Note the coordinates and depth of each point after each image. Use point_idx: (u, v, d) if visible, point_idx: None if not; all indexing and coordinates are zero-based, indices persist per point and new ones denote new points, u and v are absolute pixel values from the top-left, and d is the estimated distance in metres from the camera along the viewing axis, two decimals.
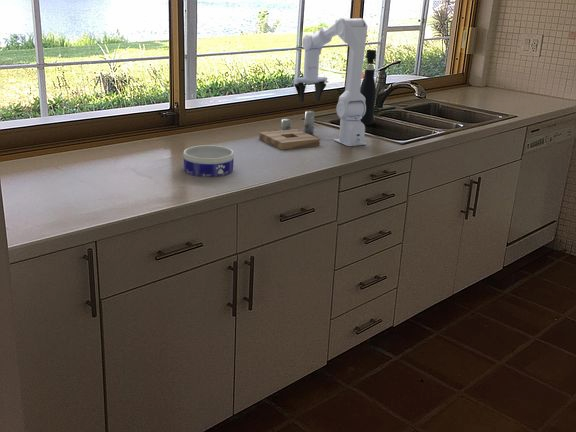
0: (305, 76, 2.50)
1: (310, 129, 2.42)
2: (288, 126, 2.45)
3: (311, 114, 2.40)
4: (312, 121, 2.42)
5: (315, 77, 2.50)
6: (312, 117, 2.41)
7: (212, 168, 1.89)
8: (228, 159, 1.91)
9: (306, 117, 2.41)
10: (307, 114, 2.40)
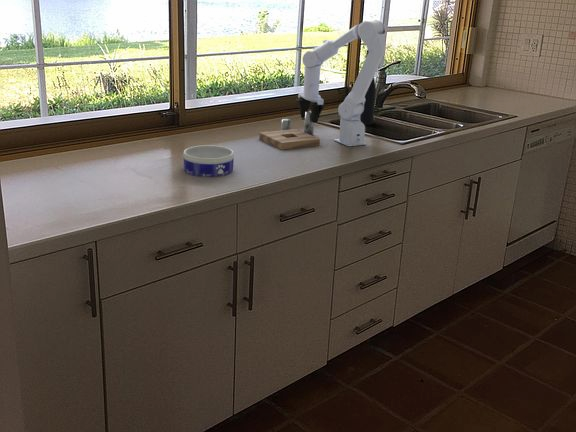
0: None
1: (310, 129, 2.42)
2: (288, 126, 2.45)
3: (311, 114, 2.40)
4: None
5: (305, 94, 2.38)
6: None
7: (212, 168, 1.89)
8: (228, 159, 1.91)
9: (306, 117, 2.41)
10: (307, 114, 2.40)
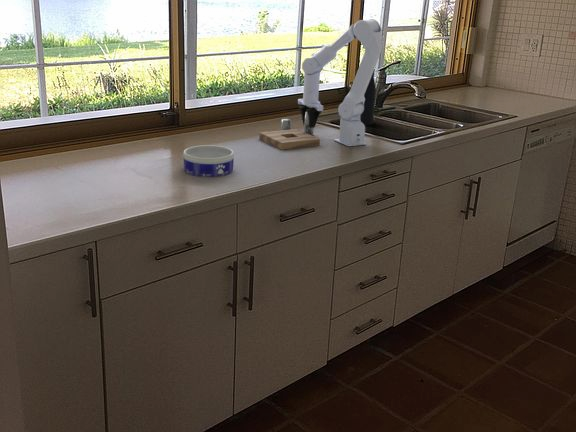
0: None
1: (310, 129, 2.42)
2: (288, 126, 2.45)
3: None
4: None
5: (305, 101, 2.38)
6: None
7: (212, 168, 1.89)
8: (228, 159, 1.91)
9: (306, 117, 2.41)
10: (307, 114, 2.40)
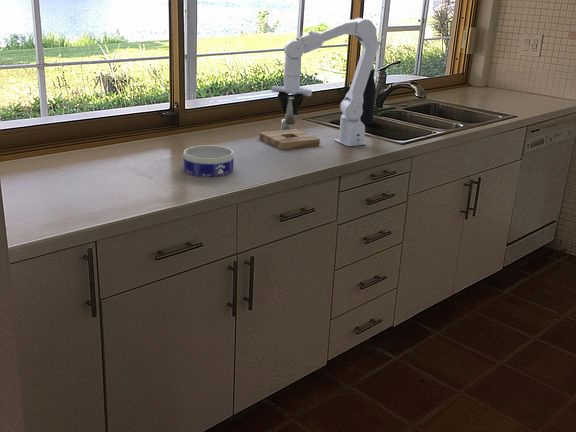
0: None
1: (294, 116, 2.29)
2: (288, 126, 2.45)
3: None
4: None
5: (290, 87, 2.23)
6: None
7: (212, 168, 1.89)
8: (228, 159, 1.91)
9: (290, 104, 2.26)
10: (291, 101, 2.26)
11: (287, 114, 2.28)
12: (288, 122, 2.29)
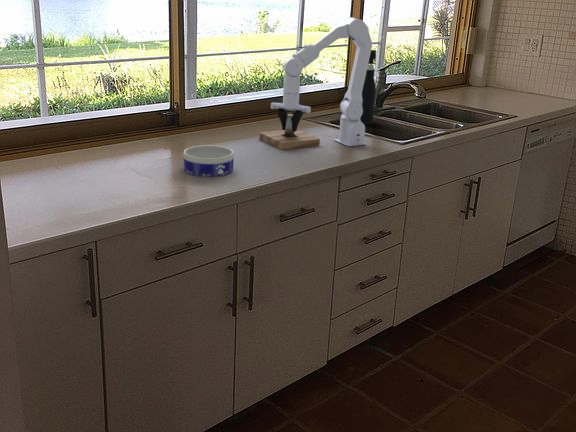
0: None
1: (293, 133, 2.31)
2: None
3: None
4: None
5: (289, 104, 2.25)
6: None
7: (212, 168, 1.89)
8: (228, 159, 1.91)
9: (289, 121, 2.28)
10: (291, 118, 2.28)
11: (286, 130, 2.30)
12: None
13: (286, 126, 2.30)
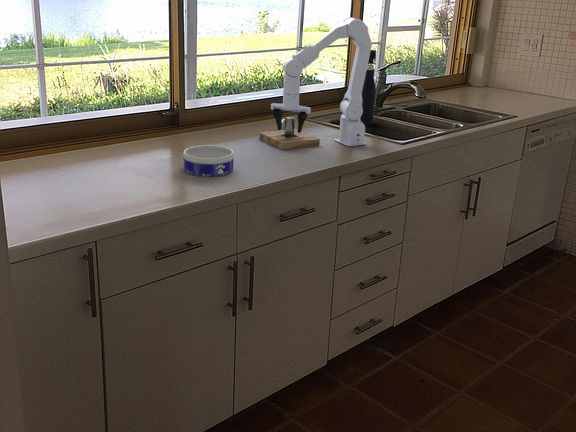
0: None
1: (293, 135, 2.31)
2: None
3: (294, 120, 2.29)
4: (294, 127, 2.31)
5: (289, 105, 2.25)
6: (294, 123, 2.30)
7: (212, 168, 1.89)
8: (228, 159, 1.91)
9: (289, 124, 2.29)
10: (290, 121, 2.28)
11: (286, 133, 2.30)
12: None
13: (286, 129, 2.30)
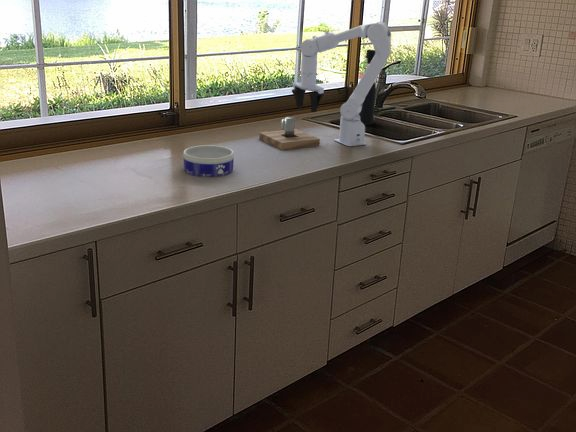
0: None
1: (293, 135, 2.31)
2: None
3: (294, 120, 2.29)
4: (294, 127, 2.31)
5: (303, 84, 2.32)
6: (294, 123, 2.30)
7: (212, 168, 1.89)
8: (228, 159, 1.91)
9: (289, 124, 2.29)
10: (290, 121, 2.28)
11: (286, 133, 2.30)
12: None
13: (286, 129, 2.30)
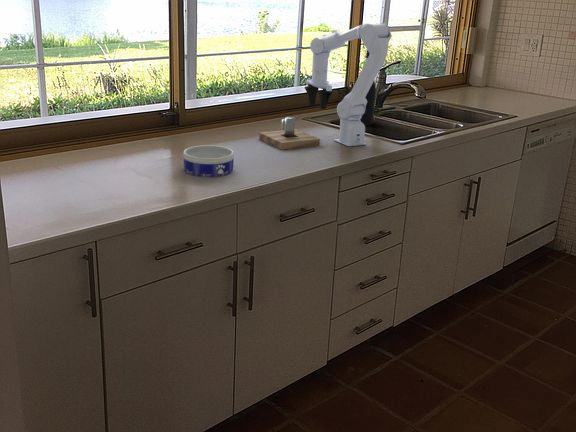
0: None
1: (293, 135, 2.31)
2: None
3: (294, 120, 2.29)
4: (294, 127, 2.31)
5: (313, 81, 2.39)
6: (294, 123, 2.30)
7: (212, 168, 1.89)
8: (228, 159, 1.91)
9: (289, 124, 2.29)
10: (290, 121, 2.28)
11: (286, 133, 2.30)
12: None
13: (286, 129, 2.30)
